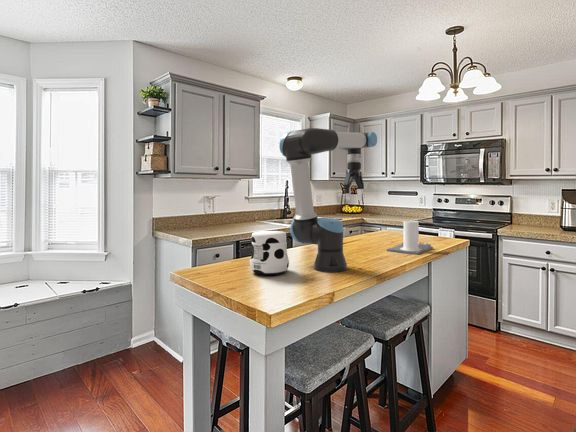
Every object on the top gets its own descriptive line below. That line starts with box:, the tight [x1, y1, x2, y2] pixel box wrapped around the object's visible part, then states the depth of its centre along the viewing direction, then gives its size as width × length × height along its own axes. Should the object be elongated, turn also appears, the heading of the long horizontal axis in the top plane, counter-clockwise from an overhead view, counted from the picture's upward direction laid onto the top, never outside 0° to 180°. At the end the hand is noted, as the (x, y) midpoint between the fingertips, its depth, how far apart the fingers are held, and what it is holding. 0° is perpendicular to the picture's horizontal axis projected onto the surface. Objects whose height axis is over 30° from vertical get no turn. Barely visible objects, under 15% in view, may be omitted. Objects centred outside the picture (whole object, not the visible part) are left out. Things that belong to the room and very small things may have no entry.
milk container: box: [249, 230, 290, 276], centre depth 157 cm, size 17×17×18 cm
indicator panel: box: [386, 241, 434, 256], centre depth 207 cm, size 24×18×4 cm
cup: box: [402, 220, 420, 250], centre depth 202 cm, size 8×8×16 cm
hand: (353, 200), depth 199 cm, fingers open, 13 cm apart
